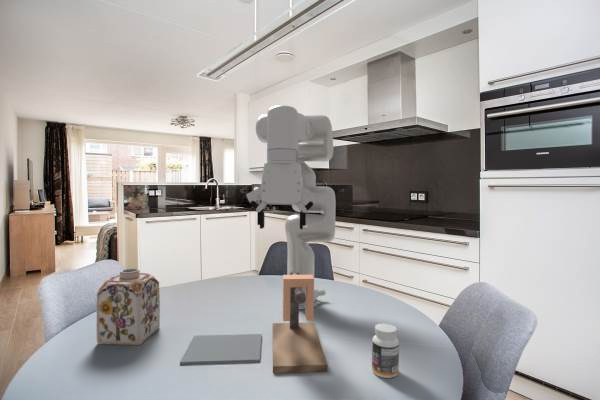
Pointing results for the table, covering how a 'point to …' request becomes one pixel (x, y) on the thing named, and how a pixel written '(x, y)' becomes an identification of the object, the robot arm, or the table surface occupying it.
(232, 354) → the mat
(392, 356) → the pill bottle
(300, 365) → the stand
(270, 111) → the robot arm
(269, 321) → the table surface
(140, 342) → the decorative jar
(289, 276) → the link
